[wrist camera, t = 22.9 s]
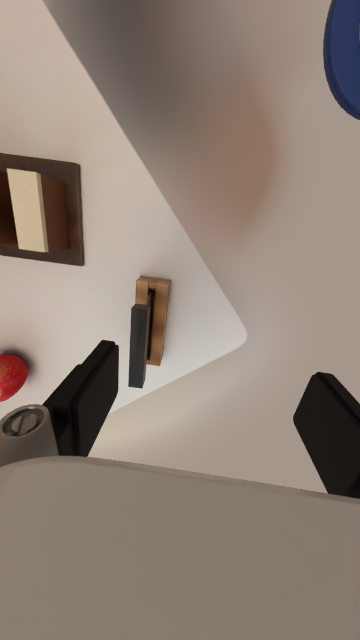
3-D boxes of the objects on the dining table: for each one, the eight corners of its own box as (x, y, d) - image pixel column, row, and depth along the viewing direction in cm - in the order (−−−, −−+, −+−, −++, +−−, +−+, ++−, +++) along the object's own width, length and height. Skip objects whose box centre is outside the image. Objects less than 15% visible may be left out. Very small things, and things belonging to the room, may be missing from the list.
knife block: (140, 276, 36) (136, 279, 33) (170, 280, 36) (168, 284, 33) (136, 353, 42) (132, 362, 39) (162, 357, 42) (160, 366, 39)
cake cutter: (148, 287, 36) (131, 308, 27) (160, 289, 36) (147, 310, 27) (144, 349, 41) (128, 386, 31) (154, 351, 41) (142, 388, 31)
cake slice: (40, 179, 31) (6, 168, 25) (64, 182, 31) (36, 172, 25) (47, 246, 34) (18, 248, 29) (69, 249, 34) (44, 252, 29)
